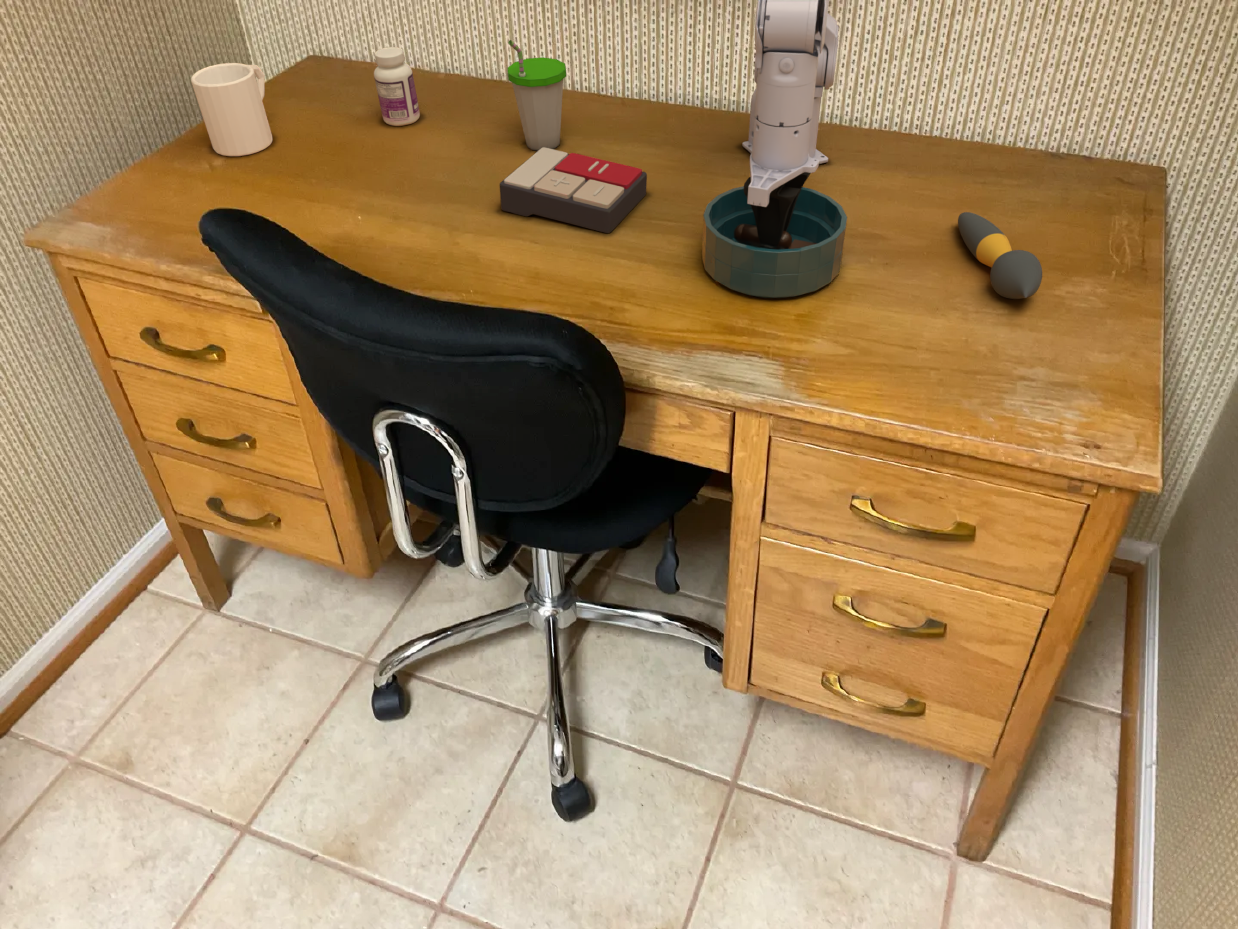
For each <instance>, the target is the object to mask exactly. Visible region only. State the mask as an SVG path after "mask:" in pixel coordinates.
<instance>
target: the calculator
mask: <svg viewBox="0 0 1238 929" xmlns="http://www.w3.org/2000/svg"><path fill="white" fill-rule="evenodd" d="M647 183H648V173H647V172H645V171H643V169H642V168H639V167H636V166H631V165H626V164H623V163H618V162H614V161H610V160H605V159H602V158H598V157H593V156H588V155H585V154H580V153H576V152H570V153H568V152H565V151H562V150H557V149H549V148H545V147H543V148H541V149H540V150H538V151H536V152H535V153H534V154H532V155H531V156H530V157H529V158H527V159H526V160H525V161H524V162H522V163H521V165H519V166H518V167H516V169H514V170H513V171H512V172H511V173H509V174H508V176H506V177H505V178H504V179H502V181H501V182H499V196H500V197H499V198H500V209H501V211H504V212H508V213H511V214H515V215H519V216H523V217H529V216H531V215H535V216H539V217H544V218H547V219H551V220H555V221H558V222H561V223H567V224H570V225H574V226H578V227H581V228H584V229H585V228H586V229H589V230H593V231H597V232H601V233H604V234H611V233H612V232H613V231H614V230H615V228H616V227H618V225H620V223H622V221H623V220H624V219H625V218H626V217H627V216H628V215H629V213H630V212H632V210H634V208H635V207H636V206H637V205H638V204H639V203H640V202H641V201H642V200H643V199H644V198H645V197H646V196H647V186H648V184H647Z"/></svg>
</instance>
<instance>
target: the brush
mask: <svg viewBox="0 0 1238 929" xmlns="http://www.w3.org/2000/svg"><path fill="white" fill-rule="evenodd" d="M734 238H735V240H736V241H737V242H738V243H741V244H745V245H750V246H756V247H761V248H766V249H775V250H780V249H795V248H802V247H806V246H810V245H814V244H817V243H812V242H806V241H801V240H795V239H794V241H793V242H792V237H791V235H790V234H789V233H788V232H786V231H783V234H782V237H781V240H780V242H779V244H778V245H777V246H775V245H770V244H764V243H760V241H759V237H758V232H757V227H756V226H755V225H750V224H740V225H738V226H737V227H736V228H735V230H734Z"/></svg>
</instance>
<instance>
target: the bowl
mask: <svg viewBox="0 0 1238 929" xmlns="http://www.w3.org/2000/svg"><path fill="white" fill-rule="evenodd" d="M747 201H748V199H747V197H746V196H745V194H744V185H742V186H739V187H734V188H731V189H729V190H726V191H724V192H722V193H719V194H717V195H716V196H715V197H714V198H713V199H711V200H710V201H709V202H708V203H707V204H706V207H705V210H704V212H703V214H702V247H701V259H702V263H703V267H704V270H705V272H706V273H707V274H708V275H709V276H710V277H711V278H712V279H713V280H714V281H715V282H718V283H719V284H721V285H722V286H724V287H726V288H727V289H730V290H732V291H734V292H736V293H741V294H743V295H746V296H751V297H758V298H763V299H764V298H766V299H785V298H793V297H798V296H803V295H806V294H809V293H812V292H815V291H817V290H819V289H821V288H823V287H825V286H827V285H828V284H830V283H831V282H832V281H834V279H835V278H836V277H837V275H839V273H840V271H841V265H842V258H843V252H844V251H843V250H844V244H845V236H846V229H847V222H848V216H847V214H846V212H845V210H844V208H843V206H842V204H840V203H839V202H837V201H836V200H835V199H833V198H832V197H831V196H829V195H827V194H825V193H822V192H820V191H818V190H817V189H813V188H809V187H804V186H803V187H802V189H801V191H800V193H799V196H798V198H797V201H796V204H795V207H794V210H793V214H792V217H791V220H790V223H789V226H788V229H787V231H786V232H788V233H789V234H790V235H791V237H792V242H793V241H794V239H795V240H801V241H806V242H812V243H817V244H814V245H810V246H806V247H802V248H795V249H780V250H775V249H766V248H761V247H756V246H750V245H745V244H741V243H738V242H737V241H736V240H735V238H734V230H735V228H736V227H737V226H738V225H740V224H750V225H755V226H756V221H755V216H754V213H753V210H752V207H751V205H750V204H747Z"/></svg>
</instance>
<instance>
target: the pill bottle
mask: <svg viewBox="0 0 1238 929" xmlns="http://www.w3.org/2000/svg"><path fill="white" fill-rule="evenodd" d="M374 58H375V63H376V65H377V66H376V67H375V69H374V70H373V78H374V83H375V87H376V92H377V97H378V102H379V108H380V111H381V116H382V120H383V122H384V123H386V124H387V125H388V126H393V127H401V126H407V125H411V124H414V123H416V122H417V121H418V120H419V119H420V116H421V113H420V107H419V101H418V96H417V95H418V94H417V90H416V84H415V78H414V73H413V70H412V67H411V66H410V64H408V63H407V62H405V60H406V56H405V52H404V49H403V48H401V47H397V46H388V47H383V48H379V49H377V50H375V52H374Z"/></svg>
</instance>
